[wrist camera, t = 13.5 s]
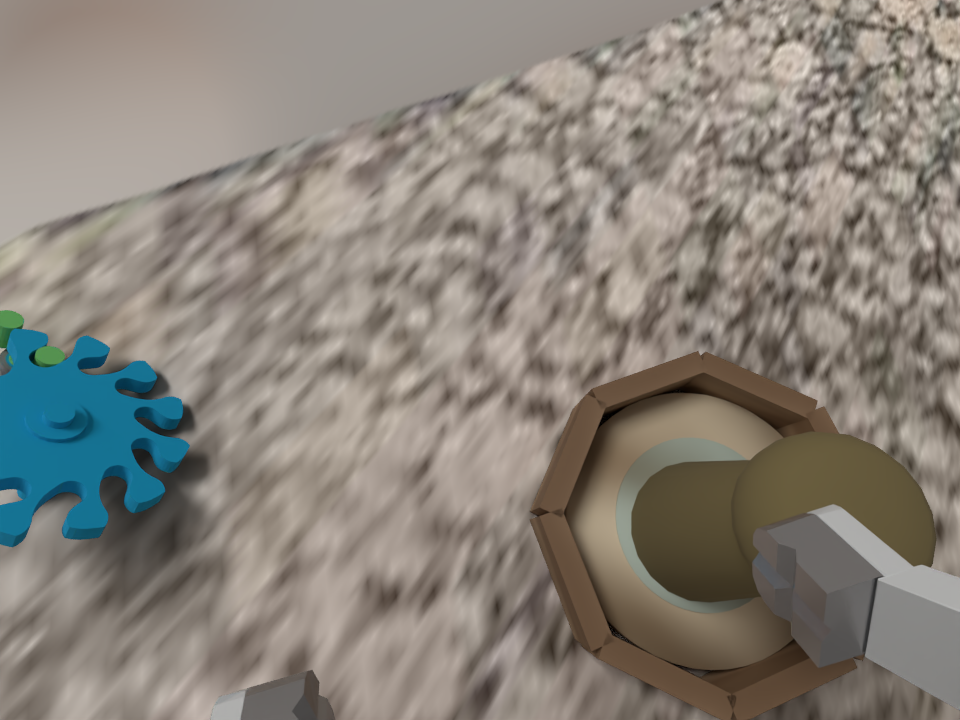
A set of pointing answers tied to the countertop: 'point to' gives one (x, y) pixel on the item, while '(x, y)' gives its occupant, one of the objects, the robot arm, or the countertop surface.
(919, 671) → the robot arm
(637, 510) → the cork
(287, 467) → the countertop surface
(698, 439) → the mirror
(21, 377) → the gear
